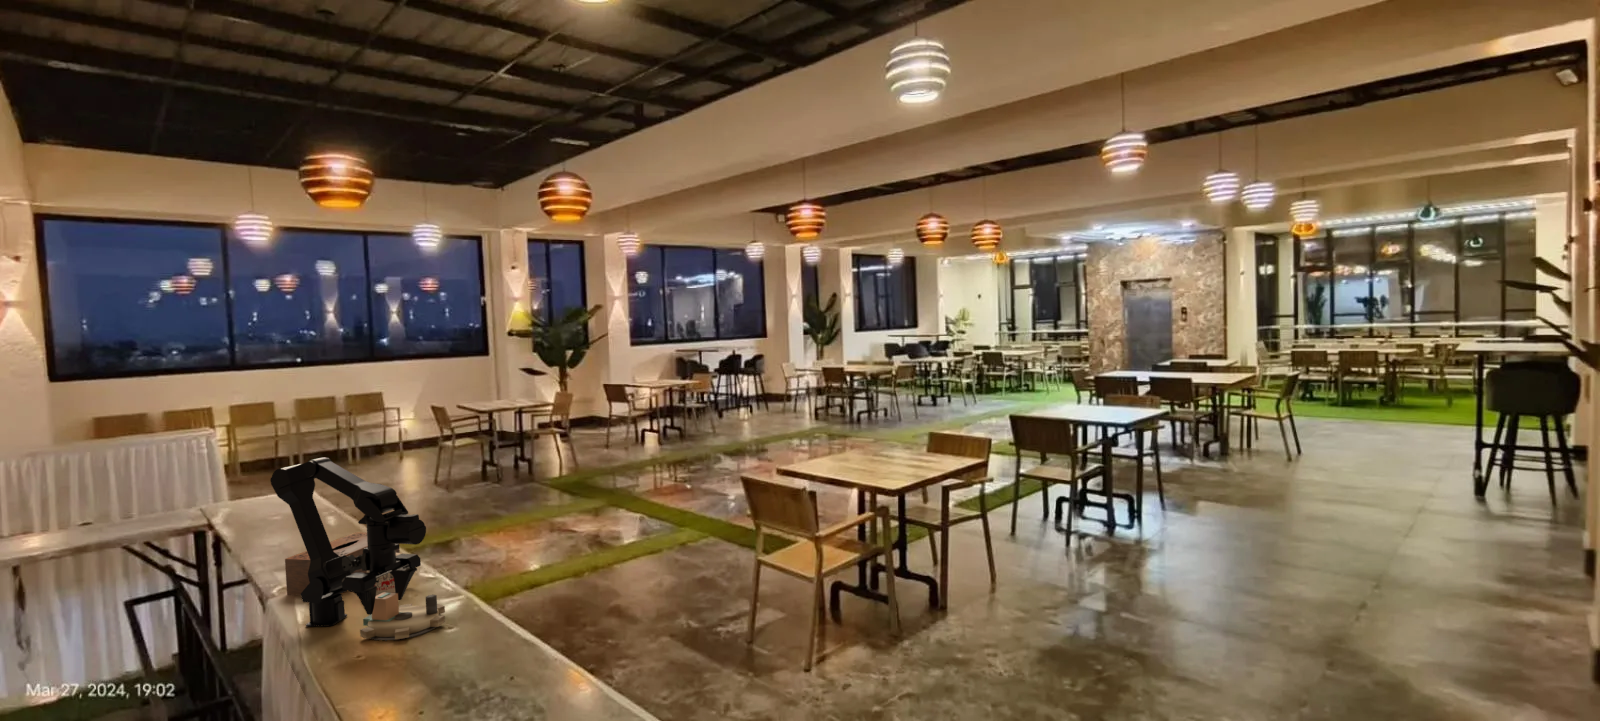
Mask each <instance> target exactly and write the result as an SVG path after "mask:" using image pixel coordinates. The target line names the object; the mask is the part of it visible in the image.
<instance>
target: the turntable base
mask: <svg viewBox="0 0 1600 721" xmlns="http://www.w3.org/2000/svg"><path fill="white" fill-rule="evenodd" d="M434 628H435V629H436V628H437V627H429V628H427V629H424V630H422V631H419V632H416V633H412V634H409V637H407V639H411V638H415V637H418V636H421V635H424V634H427V633H429V632H431V631H433V630H434ZM372 639H374V640H373V641H377V640H385V641H384V642H388V641H387V640H393V641H400V639H396V640H395V637H378V636H374V637H371V638H370V640H372ZM401 640H406V639H405V638H401Z"/></svg>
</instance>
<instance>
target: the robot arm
mask: <svg viewBox="0 0 1600 721" xmlns="http://www.w3.org/2000/svg"><path fill="white" fill-rule="evenodd" d="M315 479H316V480H319V481H320V482H322V483H324V484H326V485H327V486H329V487H330V488H332V489H334V490H336V491H337V492H339V493H340V494H343V495H344V496H347V497H348V498H349V499H351V500H352V501H353V504H354V506H355V508H356V509H357V510H358V511H359V512H361V513H363V517H361V518H360V519H359V520H358V522H357V523H358V525H366V533H367V544H368V547H367V548H364V550H363V555H361V556H358V557H354V555H350V556H347V557H346V555H343V556H339V555H338V554H336V553H335V552H334V551H333V549H332V546H331V544H330V542H331V541H330V539H329V536H328V534H327V531H326V528H325V526H324V523H323V521H322V517H321V515H320V512H319V509H318V508H317V506H316V502H315V500H314V492H315V488H316V482H315ZM270 484H271V487H272V489H273V490H274V493H275V495H276V496H277V497H278V498H279V499H280V500H282V501H283V502H284V503H286V504H287V505H288V506H289V508H290V510H291V513H292V516H293V519H294V520H295V523H296V525H297V526H296V527H297V528H298V531H299V534H300V536H301V540H302V542H303V545H304V547H305V551H307V552H308V555H309V558H310V566H309V570H308V578H309V582H310V583H309V584H308V585H307V587H306V588H305V589H304V590H303V591H302V593H301V594H300V595H299V596H300V597H301V600H302V602H303V603H308V609H309V611H308V612H309V622H307V623H306V624H305V627H306V628H307V627H333V626H334V625H336V624H337V623H339V622H340V621H343V619H345V618H347V617H348V614H347V613H345V612H346V611H345V601H344V600H343V592H344V593H345V592H349V593H354V594H355V595H356V596H357V597H358V599H359V601H360V603H361V605H362V606H363V608H364V610H365V613H366V615H367V616H369V615H371V614H372V613H373V609H374V603H375V597H376V591H377V586H374V585H375V583H376V578H378V577H381V576H383V575H385V574H388V573H391V574H392V576H393V577H394V584H395V593H398V601H402V599H403V598H404V596H405V592H406V591H407V588H408V586H409V585H410V581H411V580H412V578H413V576H414V574H415V572H417V571H418V567H420V566H421V565H422V564H421V557H420V556H419V555H418V554H414V553H400V555H397V556H396V549H399V550H400V545H419V544H420V543H422V542H423V541H424V539H425V537H426V534H427V526H426V525H425V523H424V521H423V520H421V519H420V516H419V514H415V513H414V514H409V511H408V510H407V508H406V506H405V505H404V504H403V502H402V500H401V499H400V498H399V496H398V495H397V494H398V493H397V491H396V490H395V489H393V488H392V487H389V486H388V485H384V484H381V483H375V482H370V481H369V482H368V481H367V480H364V479H363V478H361V477H359V476H358V475H356V474H354V473H352V472H350V471H349V470H347V469H345V468H343V467H341V466H340V465H338V464H337V463H334V462H333V461H332V459H330V458H329V457H322V456H321V457H319V458H314V459H310V460H308V461H307V462H303V463H298V464H294V465H291V466H285V467H281V468H277V469H275V470H274V471H273V473H272V475H271V477H270ZM395 543H397V544H395ZM359 569H362V571H367V570H369V573H361V572H356V573H353V572H354V571H356V570H359ZM351 573H353V574H351ZM347 590H348V591H347ZM340 593H342V594H340Z"/></svg>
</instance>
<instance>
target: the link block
mask: <svg viewBox="0 0 1600 721" xmlns="http://www.w3.org/2000/svg"><path fill="white" fill-rule="evenodd" d="M397 614H399V600H398V593H386V592H383V593H381V594H379V595H377V596H376V597H375V603H374V609H373V613H372V619H376V620H388V619H390V618H392V617H394V616H396V615H397Z"/></svg>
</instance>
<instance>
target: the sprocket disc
mask: <svg viewBox="0 0 1600 721" xmlns="http://www.w3.org/2000/svg"><path fill="white" fill-rule="evenodd" d="M437 597H438V596H437V594H428V595H426V596H425V605H413V603H406V604H401V605H399V604H398V605H399V614H397V615H396V616H394V617H392V618H390V619H388V620H376V619H372V614H371V615H367V616H366V617H364V618H363V619H362V622H363V623H362V625H363V626H365V627H363V628H360V629H359V634H360V637H361V638H364V639H365V640H369V638H371V637H374V636H378V637H395V640H394V641H397V640H396V639H401V638H407V637H409V634H412V633H416V632H419V631H422V630H424V629H427V628H429V627H436V628H439V627H440V626H442V625H443V624H445V623H446V621H445V620H446V619H445V615H442V614H444V613H446V609H445V608H446V607H445V605H443V604H440V603H438V598H437ZM407 639H408V638H407ZM401 640H402V639H401Z"/></svg>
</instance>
